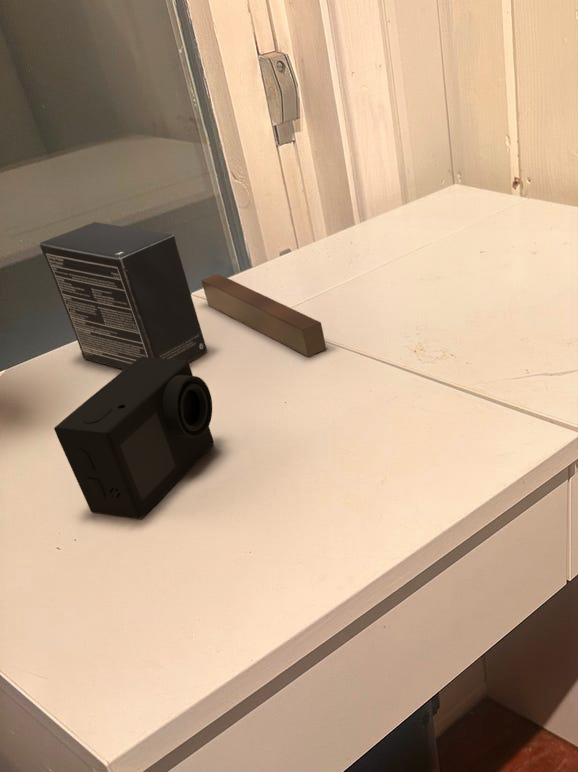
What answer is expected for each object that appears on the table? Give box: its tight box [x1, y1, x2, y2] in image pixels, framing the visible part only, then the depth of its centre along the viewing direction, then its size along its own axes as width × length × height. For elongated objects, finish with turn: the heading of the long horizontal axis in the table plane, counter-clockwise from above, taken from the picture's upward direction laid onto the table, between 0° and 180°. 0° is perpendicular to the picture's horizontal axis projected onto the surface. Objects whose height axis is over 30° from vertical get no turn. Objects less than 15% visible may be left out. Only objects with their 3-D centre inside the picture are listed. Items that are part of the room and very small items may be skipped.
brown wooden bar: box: [200, 273, 327, 358], centre depth 85 cm, size 18×2×2 cm, turn 42°
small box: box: [39, 221, 208, 370], centre depth 80 cm, size 11×6×10 cm, turn 58°
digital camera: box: [53, 357, 215, 519], centre depth 65 cm, size 10×5×7 cm, turn 162°
